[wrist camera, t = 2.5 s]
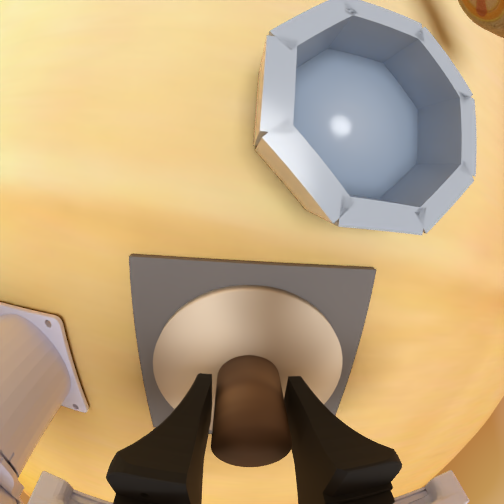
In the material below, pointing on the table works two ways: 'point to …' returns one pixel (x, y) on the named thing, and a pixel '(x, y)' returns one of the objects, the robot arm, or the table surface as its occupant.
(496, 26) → the toy helicopter
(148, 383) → the mat
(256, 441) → the lid
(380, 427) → the table surface
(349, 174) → the bowl
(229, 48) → the table surface
